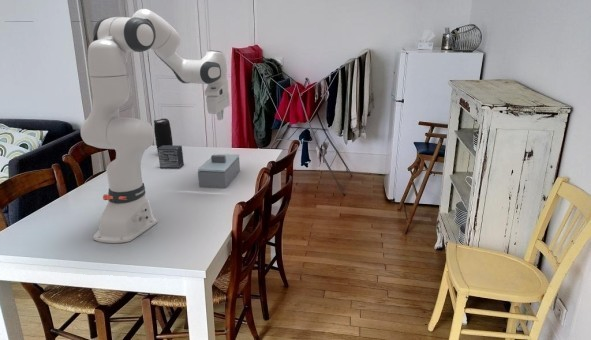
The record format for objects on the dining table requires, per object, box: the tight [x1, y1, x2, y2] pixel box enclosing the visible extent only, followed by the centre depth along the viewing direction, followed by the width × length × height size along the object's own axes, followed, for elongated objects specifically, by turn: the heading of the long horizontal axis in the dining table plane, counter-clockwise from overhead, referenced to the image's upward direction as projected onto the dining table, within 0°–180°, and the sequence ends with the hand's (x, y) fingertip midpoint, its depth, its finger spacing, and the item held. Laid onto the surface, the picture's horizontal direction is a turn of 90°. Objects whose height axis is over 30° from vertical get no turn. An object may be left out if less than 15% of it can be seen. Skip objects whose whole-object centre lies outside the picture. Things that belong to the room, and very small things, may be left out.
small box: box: [157, 145, 185, 169], centre depth 206 cm, size 11×6×10 cm, turn 84°
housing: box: [197, 156, 241, 189], centre depth 187 cm, size 22×12×8 cm, turn 171°
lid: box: [197, 153, 240, 172], centre depth 185 cm, size 22×12×4 cm, turn 171°
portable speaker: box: [153, 118, 174, 152], centre depth 223 cm, size 9×9×20 cm
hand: (220, 119), depth 185 cm, fingers closed
